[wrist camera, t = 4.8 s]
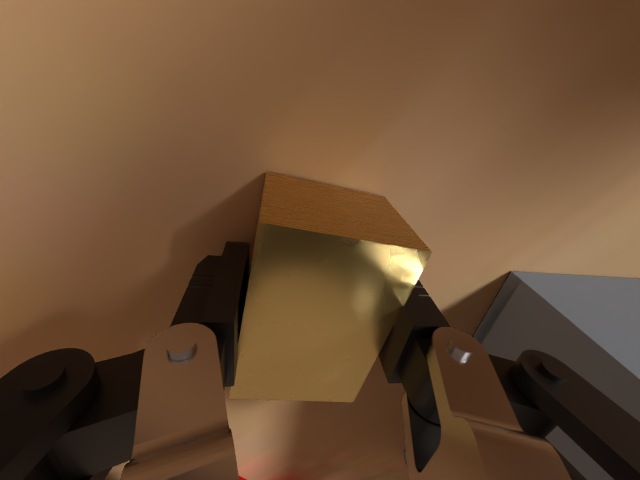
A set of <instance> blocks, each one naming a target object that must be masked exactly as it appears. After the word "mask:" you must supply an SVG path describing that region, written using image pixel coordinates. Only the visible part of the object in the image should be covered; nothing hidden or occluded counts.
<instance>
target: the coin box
mask: <svg viewBox="0 0 640 480" xmlns="http://www.w3.org/2000/svg"><path fill="white" fill-rule="evenodd" d="M473 338H475V339H476V340H477V341H478V342H479V343H480V344H481V345H482V346H483V347H484V349H485V350H486V352H487V354H490V355H494V356H498V357H501V358H505V359H508V360H512V361H516V360H517V359H518V357H519V356H520V354H521V353H522V352H523V351H525V350H537V351H541V352H544V353H547V354H549V355H551V356H553V357H555V358H557V359H558V360H560V361H561V362H563V363H564V364H565V365H567V366H568V367H569V368H571V369H572V370H573V371H575V372H576V373H577V374H578V375H580V376H581V377H582V378H584V379H585V380H586V381H587V382H589V383H590V384H591V385H593V386H594V387H595V388H597V389H598V390H599V391H600V392H602V393H603V394H604V395H606V396H607V397H608V398H609V399H611V400H612V401H613V402H615V403H616V404H617V405H618V406H620V407H621V408H622V409H624V410H625V411H626V412H628V413H629V414H630V415H631V416H633V417H634V418H635V419H637V420H638V421H639V422H640V279H637V278H620V277H602V276H585V275H567V274H550V273H532V272H515V271H511V273H510V274H509V276H508V278H507V280H506V281H505V283H504V285H503V286H502V288H501V290H500V291H499V293H498V295H497V296H496V298H495V300H494V302H493V303H492V305H491V307H490V308H489V310H488V312H487V313H486V315H485V317H484V318H483V320H482V322H481V324H480V325H479V327H478V329H477V330H476V332H475V334H474V335H473ZM545 438H546V439H547V440H548V441H549V442H550V443H551V444H552V445H553V446H554V447H555V448H556V449H557V450H558V451H559V452H560V453H561V454H562V455H563V456H564V457H565V458H566V459H567V460H568V461H569V462H570V463H571V464H572V465H573V466H574V467H575V468H576V469H577V470H578V471H579V472H580V473H581V474H582V475H583V476H584V477H585V478H586V479H587V480H614V479H613V478H612V477H611V476H610V475H609V474H608V473H607V472H606V471H605V470H603V469H602V468H601V467H600V466H599V465H598V464H597V463H596V462H595V461H594V460H593V459H592V458H591V457H590V456H589V455H588V454H587V453H586V452H584V451H583V450H582V449H581V448H580V447H579V446H578V445H577V444H576V443H575V442H574V441H573V440H572V439H571V438H570V437H569V436H568V435H567V434H566V433H564V432H563V431H562V430H561V429H560V428H559V427H558V426H557V427H555V428H554V429H553V430H552V431H551V432H550V433H549V434H548V435H547V436H546V437H545ZM403 456H404V459H405V462H406V465H407V456H406V451H405V452H404V454H403ZM407 468H408V466H407Z"/></svg>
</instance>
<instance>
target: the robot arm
mask: <svg viewBox="0 0 640 480" xmlns="http://www.w3.org/2000/svg"><path fill="white" fill-rule="evenodd" d="M249 253H250V243H246V242H231V241H227V242H226V244H225V247H224V251H223V254H222V256H212V255H208V256H207V257H206V258H204V259H203V260H202V261H201V262H200V263H198V264H197V266H196V268H195V271H194V273H193V275H192V278H191V280H190V282H189V285H188V287H187V289H186V291H185V294H184V296H183V298H182V301H181V303H180V305H179V308H178V310H177V312H176V314H175V317H174V319H173V321H172V324H171V326H170V327H169V328H167V329H164V330H163V331H161V332H160V333H158V334H157V335H156V336H155V337H154V338H153V339H152V340H151V341H150V342H149V343H148V345H147V347H146V348H145V349H143V350H140V351H138V352H135V353H132V354H128V355H124V356H120V357H116V358H112V359H108V360H104V361H100V362H96V363H95V362H94V359H93V357H92V356H91V354H89V353H88V352H86V351H84V350H81V349H76V348H66V349H58V350H53V351H50V352H46V353H43V354H41V355H38V356H35V357H33V358H31V359H29V360H27V361H25V362H24V363H22V364H20V365H18V366H17V367H16V368H14V369H13V370H11V371H10V372H9V373H7V374H6V375H5V376H3V377H2V378H1V379H0V480H104V479H105V477H106V476H107V474H108V473H109V471H110V470H111V469H112V467H113V466H116V465H119V464H121V463H124V462H126V461H129V460H130V462H129V463H127V464H126V465H125V466H124V469H123V471H122V474H121V478H120V480H239V476H238V469H237V462H236V455H235V449H234V443H233V437H232V432H231V429H230V428H229V425H228V419H227V412H226V405H225V397H224V387H225V386H234V383H235V376H236V369H237V363H238V341H239V335H240V329H241V322H242V316H243V309H244V303H245V296H246V290H247V283H248V277H249ZM428 295H429V294H428V293H427V292H426V290H425V289H424V288H423V286H422V284H421V283H420V281H419V280H417V282H416V284H415V286H414V288H413V289H412V291H411V293H410V295H409V297H408V299H407V301H406V303H405V305H402V306H401V309H400V311H399V314H398V316H397V319H396V322H395V324H394V326H393V328H392V330H391V331H390V333H389V335H388V337H387V339H386V341H385V343H384V345H383V347H382V349H381V351H380V352H379V354H378V355H379V358H380V361H381V364H382V366H383V369H384V372H385V375H386V378H387V381H388V383H402V384H403V386H404V389H405V392H404V394H403V396H402V400H401V406H402V416H403V426H404V436H405V446H406V456H407V466H408V480H587V479H586V478H585V477H584V476H583V475H582V474H581V473H580V472H579V471H578V470H577V469H576V468H575V467H574V466H573V465H572V464H571V463H570V462H569V461H568V460H567V459H566V458H565V457H564V456H563V455H562V454H561V453H560V452H559V451H558V450H557V449H556V448H555V447H554V446H553V445H552V444H551V443H550V442H549V441H548V440H547V439H546V438H545V437H546V436H547V435H548V434H549V433H550V432H551V431H552V430H553V429H554V428H555V427H557V426H558V427H559V428H560V429H561V430H562V431H563V432H564V433H566V434H567V435H568V436H569V437H570V438H571V439H572V440H573V441H574V442H575V443H576V444H577V445H578V446H579V447H580V448H581V449H582V450H583V451H584V452H586V453H587V454H588V455H589V456H590V457H591V458H592V459H593V460H594V461H595V462H596V463H597V464H598V465H599V466H600V467H601V468H602V469H603V470H605V471H606V472H607V473H608V474H609V475H610V476H611V477H612V478H613V479H614V480H640V422H639V421H638V420H637V419H635V418H634V417H633V416H631V415H630V414H629V413H628V412H626V411H625V410H624V409H622V408H621V407H620V406H618V405H617V404H616V403H615V402H613V401H612V400H611V399H609V398H608V397H607V396H606V395H604V394H603V393H602V392H600V391H599V390H598V389H597V388H595V387H594V386H593V385H591V384H590V383H589V382H587V381H586V380H585V379H584V378H582V377H581V376H580V375H578V374H577V373H576V372H575V371H573V370H572V369H571V368H569V367H568V366H567V365H565V364H564V363H563V362H561V361H560V360H558V359H557V358H555V357H553V356H551V355H549V354H547V353H544V352H541V351H537V350H525V351H523V352H522V353H521V354H520V356H519V357H518V359H517V360H516V361H512V360H508V359H505V358H501V357H498V356H494V355H490V354H487V352H486V350H485V349H484V347H483V346H482V345H481V344H480V343H479V342H478V341H477V340H476V339H475V338H473V337H472V336H471V335H469V334H467V333H466V332H464V331H461V330H459V329H456V328H452V327H450V325H449V324H448V322H447V321H446V319H445V318H444V317H443V315H442V314H441V312H440V311H439V309H438V308H437V306H436V305H435V303H434V302H433V300H432V299H431V297H429V296H428Z"/></svg>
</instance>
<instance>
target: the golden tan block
mask: <svg viewBox="0 0 640 480" xmlns="http://www.w3.org/2000/svg"><path fill="white" fill-rule="evenodd" d="M431 253H432V251H431V250H430V249H429V248H428V247H427V246H426V244H425V243H424V242H423V241H422V240H421V239H420V237H419V236H418V235H417V234H416V233H415V232H414V231H413V229H412V228H411V227H410V226H409V225H408V224H407V222H406V221H405V220H404V219H403V218H402V217H401V215H400V214H399V213H398V212H397V211H396V210H395V208H394V207H393V206H392V205H391V204H390V203H389V202H388V200H387V199H386V198H385V197H383V196H379V195H374V194H369V193H365V192H360V191H355V190H351V189H346V188H341V187H337V186H332V185H327V184H323V183H318V182H313V181H309V180H304V179H299V178H295V177H290V176H285V175H281V174H276V173H271V172H267V171H266V176H265V182H264V188H263V194H262V200H261V206H260V211H259V217H258V223H257V229H256V235H255V241H254V247H253V253H252V258H251V264H250V270H249V277H248V283H247V290H246V296H245V303H244V309H243V316H242V322H241V329H240V335H239V341H238V363H237V369H236V376H235V383H234V386H231V387H230V393H229V399H255V400H290V401H325V402H354V400H355V398H356V396H357V394H358V392H359V391H360V389H361V387H362V385H363V383H364V381H365V379H366V377H367V375H368V373H369V371H370V370H371V368H372V366H373V364H374V362H375V360H376V358H377V356H378V354H379V352H380V351H381V349H382V347H383V345H384V343H385V341H386V339H387V337H388V335H389V333H390V331H391V330H392V328H393V326H394V324H395V322H396V319H397V316H398V314H399V311H400V309H401V306H402V305H405V303H406V301H407V299H408V297H409V295H410V293H411V291H412V289H413V288H414V286H415V284H416V282H417V280H418V278H419V276H420V274H421V272H422V270H423V268H424V267H425V265H426V263H427V261H428V259H429V257H430V255H431Z"/></svg>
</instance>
